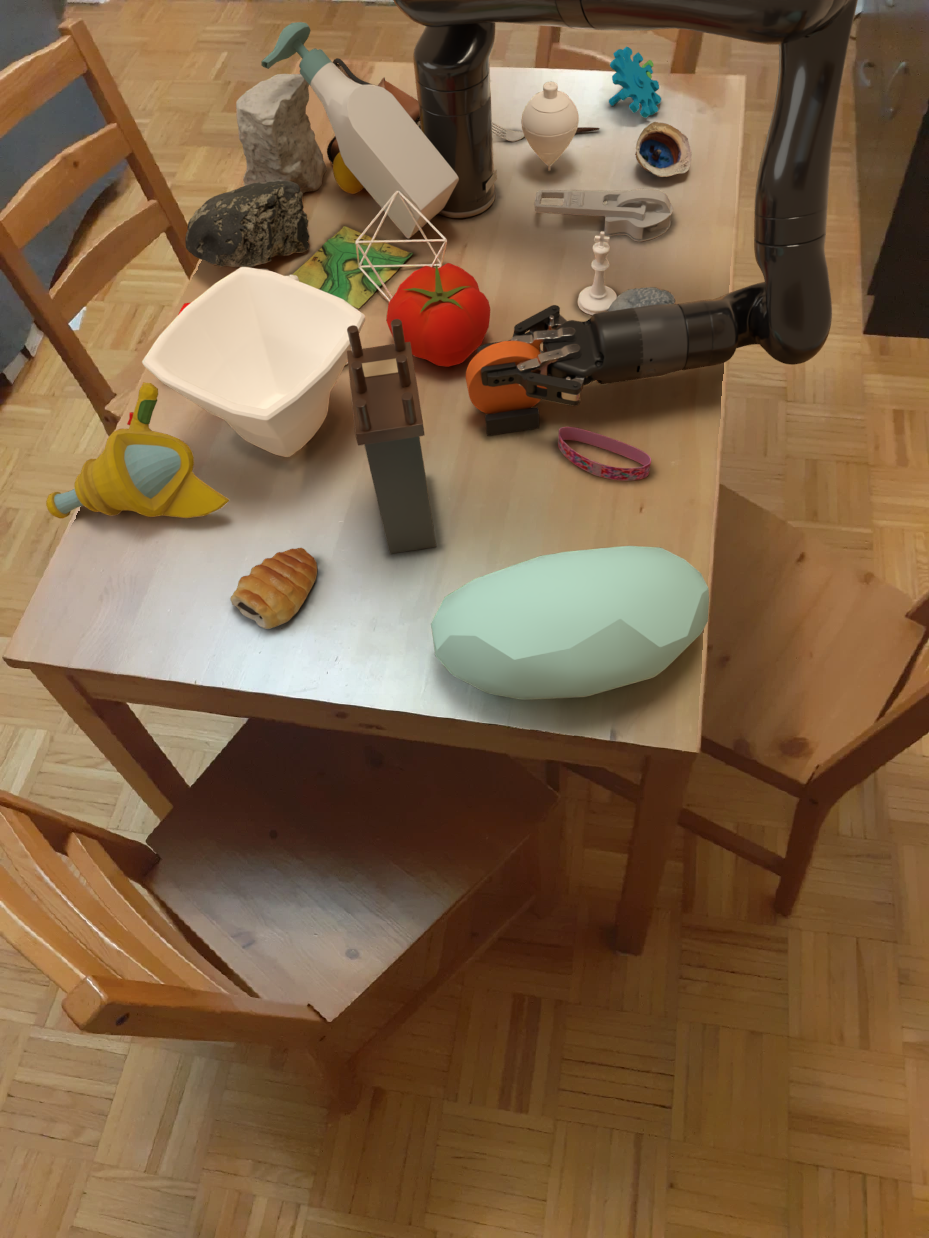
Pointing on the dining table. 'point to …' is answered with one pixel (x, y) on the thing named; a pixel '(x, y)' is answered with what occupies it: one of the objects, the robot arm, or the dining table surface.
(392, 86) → the sunglasses case
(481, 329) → the tomato
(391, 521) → the stand block
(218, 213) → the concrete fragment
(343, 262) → the terrain map
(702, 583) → the decorative stone
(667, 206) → the zipper pull
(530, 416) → the black blocks
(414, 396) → the rack
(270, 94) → the decorative stone
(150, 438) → the toy
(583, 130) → the fork
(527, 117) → the spinning top
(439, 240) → the geometric polyhedron
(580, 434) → the headband
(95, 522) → the dining table surface
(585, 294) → the chess piece
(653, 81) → the gear
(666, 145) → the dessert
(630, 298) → the fossil
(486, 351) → the disc
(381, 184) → the soap bottle
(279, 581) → the pastry
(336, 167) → the doorknob
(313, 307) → the bowl
